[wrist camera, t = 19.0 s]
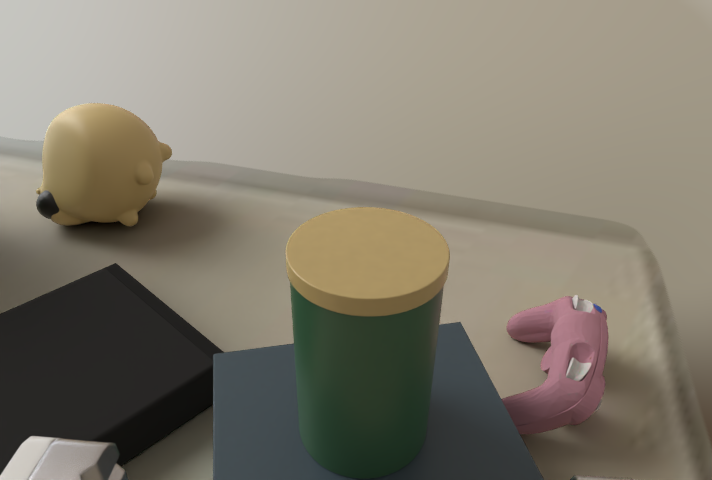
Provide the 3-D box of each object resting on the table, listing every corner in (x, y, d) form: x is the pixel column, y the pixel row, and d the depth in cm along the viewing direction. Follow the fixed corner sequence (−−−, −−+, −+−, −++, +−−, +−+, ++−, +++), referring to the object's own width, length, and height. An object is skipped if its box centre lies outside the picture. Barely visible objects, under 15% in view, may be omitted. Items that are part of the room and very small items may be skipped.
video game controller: (543, 468, 34) (628, 411, 30) (478, 425, 34) (554, 362, 30) (554, 356, 42) (624, 298, 38) (502, 321, 42) (565, 259, 38)
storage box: (450, 393, 37) (460, 321, 34) (535, 587, 27) (561, 511, 24) (225, 427, 35) (213, 353, 31) (230, 653, 25) (212, 580, 22)
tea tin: (407, 367, 31) (421, 200, 25) (446, 468, 26) (474, 287, 20) (290, 384, 30) (278, 214, 24) (306, 493, 25) (295, 309, 19)
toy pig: (135, 221, 61) (43, 155, 58) (200, 143, 56) (104, 66, 53) (93, 274, 53) (-17, 200, 49) (166, 188, 48) (48, 99, 44)
